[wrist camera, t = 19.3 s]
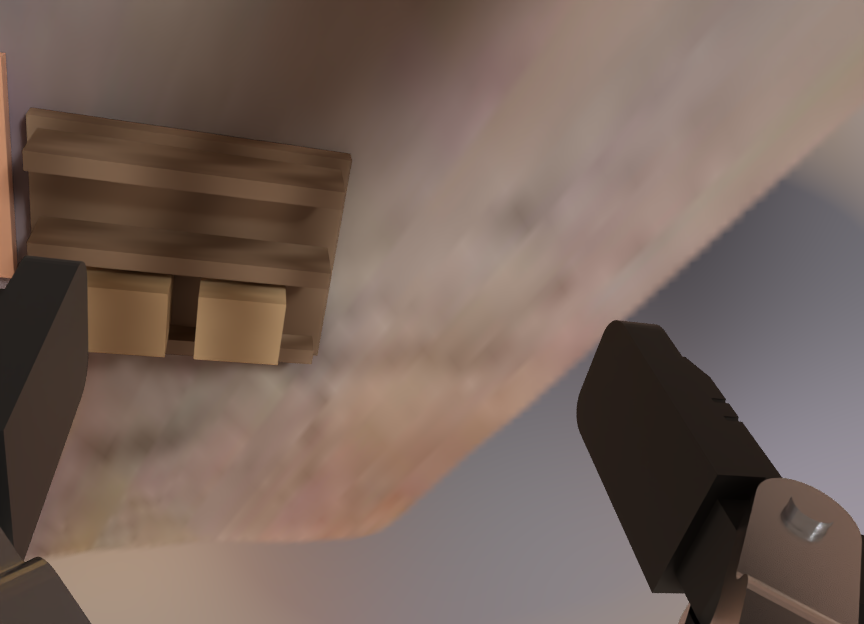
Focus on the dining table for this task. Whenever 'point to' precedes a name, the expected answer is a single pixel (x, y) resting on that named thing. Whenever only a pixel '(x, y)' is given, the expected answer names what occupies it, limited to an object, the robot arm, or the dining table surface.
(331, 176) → the rack
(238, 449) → the dining table surface
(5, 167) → the tile
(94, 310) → the offcut
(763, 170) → the dining table surface
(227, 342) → the offcut
